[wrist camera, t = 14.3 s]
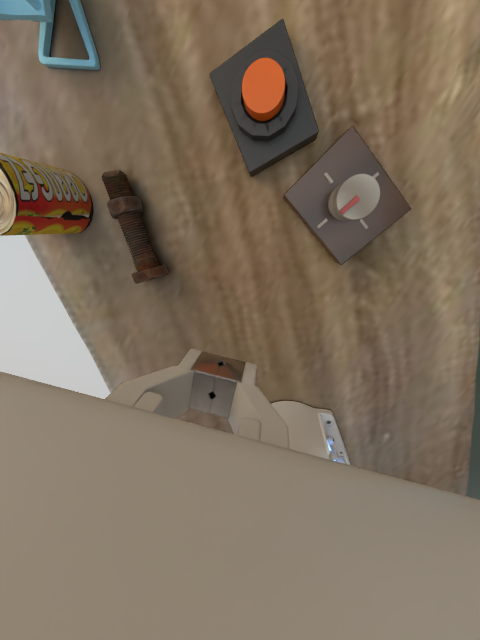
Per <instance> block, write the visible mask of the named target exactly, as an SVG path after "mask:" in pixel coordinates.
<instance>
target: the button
mask: <svg viewBox="0 0 480 640" xmlns="http://www.w3.org/2000/svg"><path fill="white" fill-rule="evenodd" d="M284 93H285V76H284V73H283V70H282V68H281V66H280V65H279V64H278V63H277V62H276V61H275V60H273V59H271V58H260V59H258V60H256V61H254V62H253V63H252V64H251V65H250V66H249V67H248V69H247V71H246V72H245V75H244V77H243V81H242V95H243V99H244V103H245V107H246V110H247V112H248V113H249V115H250V116H251V117H252V118H254V119H256V120H258V121H267V120H270V119H271V118H273V117H274V116H275V115H276V114H277V113H278V112H279V110H280V109H281V107H282V104H283V101H284Z"/></svg>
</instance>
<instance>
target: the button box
mask: <svg viewBox="0 0 480 640" xmlns="http://www.w3.org/2000/svg"><path fill="white" fill-rule="evenodd" d="M260 58H271V59H273V60H275V61H276V62H277V63H278V64H279V65H280V66H281V68H282V70H283V73H284V76H285V93H284V101H283V104H282V107H281V109H280V110H279V112H278V113H277V114H276V115H275V116H274V117H273V118H271V119H270V120H267V121H258V120H256V119H254V118H252V117H251V116H250V115H249V113H248V112H247V110H246V107H245V103H244V99H243V95H242V81H243V77H244V75H245V72H246V71H247V69H248V67H249V66H250V65H251V64H252V63H253V62H254V61H256V60H258V59H260ZM209 75H210V78H211V80H212V83H213V85H214V87H215V90H216V92H217V95H218V97H219V100H220V102H221V105H222V107H223V109H224V112H225V114H226V117H227V119H228V122H229V124H230V127H231V129H232V131H233V134H234V136H235V139H236V141H237V144H238V146H239V149H240V151H241V154H242V156H243V158H244V161H245V163H246V166H247V168H248V171H249V173H250V175H251V177H252V176H254V175H255V174H257V173H259V172H261V171H262V170H264V169H266V168H267V167H269V166H271V165H273V164H274V163H276V162H278V161H279V160H281V159H283V158H285V157H286V156H288V155H290V154H292V153H293V152H295V151H297V150H298V149H300V148H302V147H304V146H305V145H307V144H309V143H310V142H312V141H314V140H315V139H316V137H317V135H318V132H319V131H318V127H317V124H316V121H315V118H314V115H313V112H312V108H311V105H310V102H309V99H308V96H307V93H306V89H305V86H304V83H303V80H302V77H301V74H300V70H299V67H298V64H297V61H296V58H295V55H294V52H293V48H292V45H291V42H290V39H289V36H288V33H287V29H286V26H285V23H284V20H283V19H281V20H280V21H279V22H277V23H276V24H275V25H273V26H272V27H271V28H269V29H268V30H267V31H265V32H264V33H263V34H261V35H260V36H259V37H257V38H256V39H255V40H253V41H252V42H251V43H249V44H248V45H247V46H246V47H244V48H243V49H242V50H240V51H239V52H238V53H236V54H235V55H234V56H232V57H231V58H230V59H228V60H227V61H226V62H224V63H223V64H222V65H220V66H219V67H218V68H216V69H215V70H214V71H212V72H211V73H210V74H209Z"/></svg>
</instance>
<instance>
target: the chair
mask: <svg viewBox="0 0 480 640" xmlns="http://www.w3.org/2000/svg"><path fill="white" fill-rule="evenodd" d="M55 1H56V0H0V20H32V21H39V22H40V32H39V60H40V62H41V63H42V64H44V65H46V66H47V67H52V68H69V69H85V70H99V69H100V63H99V58H98V55H97V51H96V48H95V45H94V42H93V39H92V36H91V33H90V29H89V26H88V23H87V20H86V17H85V14H84V11H83V8H82V4H81V1H80V0H69V2H70V4H71V7H72V10H73V13H74V16H75V19H76V21H77V24H78V27H79V30H80V32H81V35H82V38H83V40H84V43H85V46H86V49H87V51H88V54H89V60H81V59H67V58H55V57H49V54H50V45H51V37H52V29H53V20H54V11H55Z"/></svg>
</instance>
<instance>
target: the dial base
mask: <svg viewBox="0 0 480 640" xmlns="http://www.w3.org/2000/svg"><path fill="white" fill-rule="evenodd" d="M357 174H367V175H370V176H372V177H373V178H374V179H375V180H376V181H377V182H378V184H379V187H380V198H379V201H378V204H377V206H376V207H375V209H374V210H373V211H372V212H371V213H370V214H369V215H367V216H366V217H364V218H361V219H357V220H348V221H341V220H338V219H336V218H334V217H333V216H332V215H331V213H330V211H329V208H328V201H329V197H330V195H331V193H332V191H333V190H334V189H335V188H336V187H337V186H338V185H339V184H341V183H342V182H344V181H345V180H347V179H348V178H350V177H352V176H354V175H357ZM283 198H284V200H285V201H286V202H287V203H288V204H289V206H290V207H291V208H292V209H293V210H294V212H295V213H296V214H297V215H298V217H299V218H300V219H301V220H302V221H303V223H304V224H305V225H306V226H307V228H308V229H309V230H310V231H311V232H312V234H313V235H314V236H315V237H316V239H317V240H318V241H319V242H320V243H321V245H322V246H323V247H324V248H325V249H326V251H327V252H328V253H329V254H330V256H331V257H332V258H333V259H334V260H335V262H337V263H339V264H340V265H342V264H343V263H344V262H346V261H347V260H348V259H350V258H351V257H352V256H353V255H355V254H356V253H357V252H358V251H360V250H361V249H362V248H363V247H365V246H366V245H367V244H368V243H370V242H371V241H372V240H373V239H375V238H376V237H377V236H378V235H380V234H381V233H382V232H383V231H385V230H386V229H387V228H388V227H390V226H391V225H392V224H393V223H395V222H396V221H397V220H398V219H400V218H401V217H402V216H403V215H405V214H406V213H407V212H408V211H410V210H411V207H410V206H409V204H408V203H407V201H406V200H405V199H404V197H403V196H402V194H401V193H400V192H399V190H398V189H397V187H396V186H395V185H394V183H393V182H392V180H391V179H390V177H389V176H388V175H387V173H386V172H385V170H384V169H383V168H382V166H381V165H380V163H379V162H378V161H377V159H376V158H375V156H374V155H373V153H372V152H371V151H370V149H369V148H368V146H367V145H366V144H365V142H364V141H363V139H362V138H361V137H360V135H359V134H358V132H357V131H356V129H355V128H354V127H353V126H351V127H350V128H349V129H348V130H347V131H346V132H345V133H344V134H343V135H342V136H341V137H340V138H339V139H338V140H337V141H336V142H335V143H334V144H333V145H332V146H331V147H330V148H329V149H328V150H327V151H326V153H325V154H324V155H323V156H322V157H321V158H320V159H319V160H318V161H317V162H316V163H315V164H314V165H313V166H312V167H311V168H310V169H309V170H308V171H307V172H306V173H305V174H304V175H303V176H302V177H301V178H300V179H299V180H298V181H297V182H296V183H295V184H294V185H293V186H292V187H291V188H290V189H289V190H288V191H287V192H286V193H285V194H284V197H283Z"/></svg>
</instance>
